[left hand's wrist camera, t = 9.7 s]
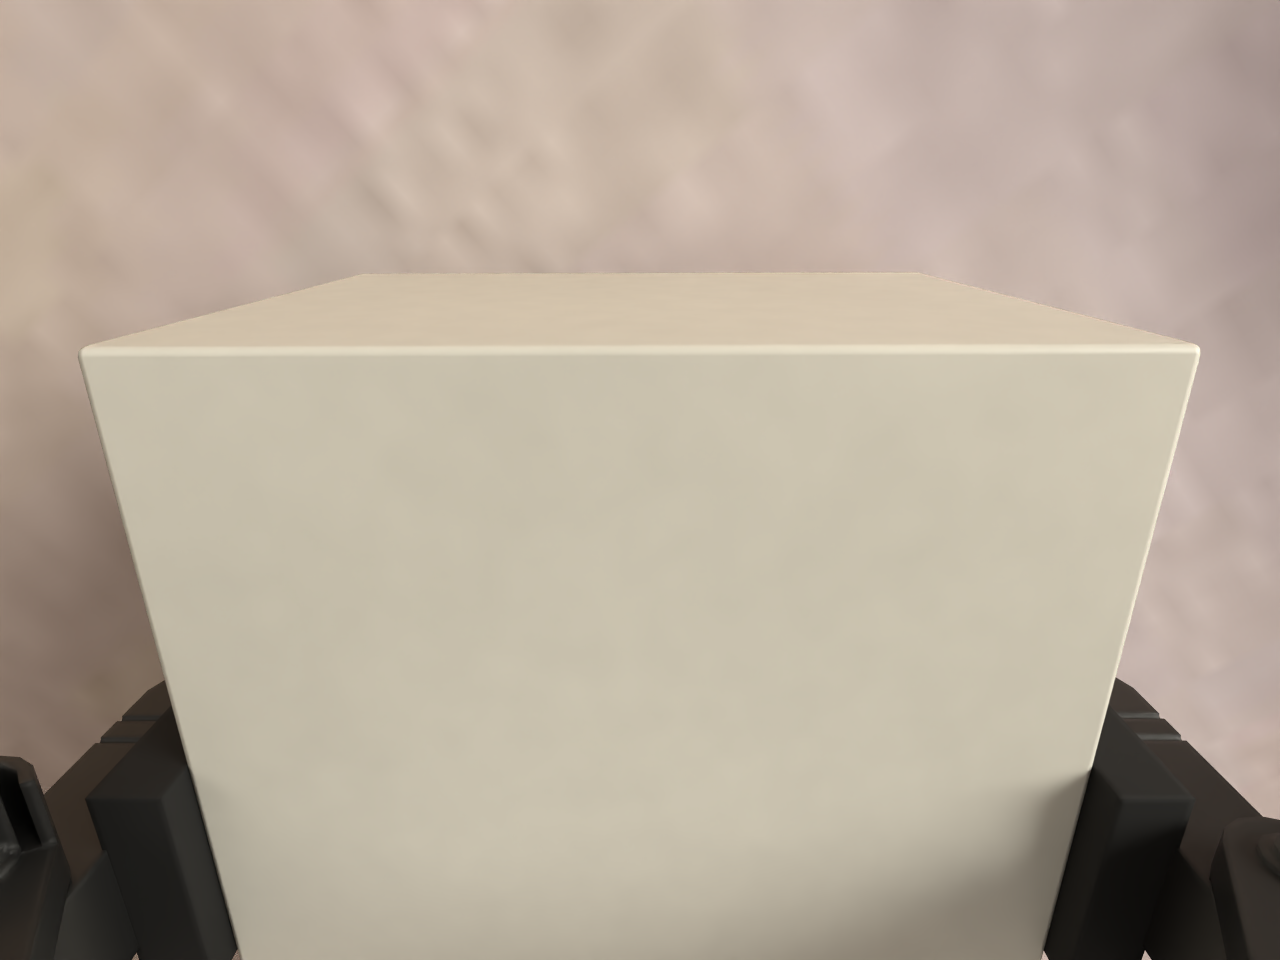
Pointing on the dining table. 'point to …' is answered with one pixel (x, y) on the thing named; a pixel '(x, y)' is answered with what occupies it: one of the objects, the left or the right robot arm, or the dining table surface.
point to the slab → (640, 605)
